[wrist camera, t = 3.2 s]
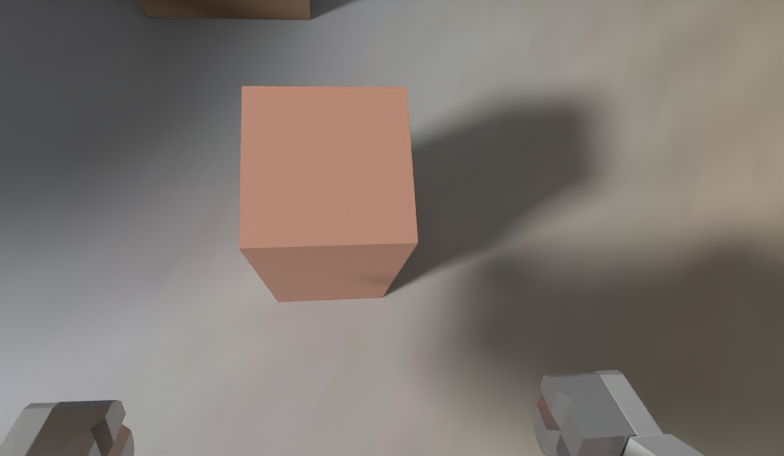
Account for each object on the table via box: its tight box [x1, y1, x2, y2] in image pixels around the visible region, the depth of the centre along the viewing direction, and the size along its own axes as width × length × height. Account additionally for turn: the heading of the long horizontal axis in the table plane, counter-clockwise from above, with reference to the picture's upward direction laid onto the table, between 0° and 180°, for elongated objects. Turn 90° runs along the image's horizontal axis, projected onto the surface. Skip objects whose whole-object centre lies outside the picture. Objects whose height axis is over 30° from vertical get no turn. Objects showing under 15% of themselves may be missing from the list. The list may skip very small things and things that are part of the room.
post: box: [239, 86, 418, 302], centre depth 17 cm, size 4×4×9 cm
